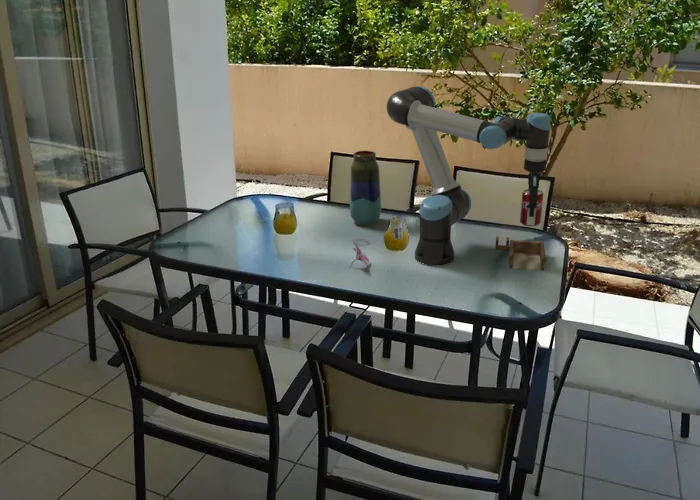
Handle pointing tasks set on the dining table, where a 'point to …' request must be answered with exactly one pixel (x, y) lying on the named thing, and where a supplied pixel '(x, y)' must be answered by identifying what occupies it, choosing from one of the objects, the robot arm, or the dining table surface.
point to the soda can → (525, 210)
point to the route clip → (502, 247)
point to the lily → (360, 255)
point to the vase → (365, 188)
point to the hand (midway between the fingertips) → (530, 220)
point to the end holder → (527, 255)
